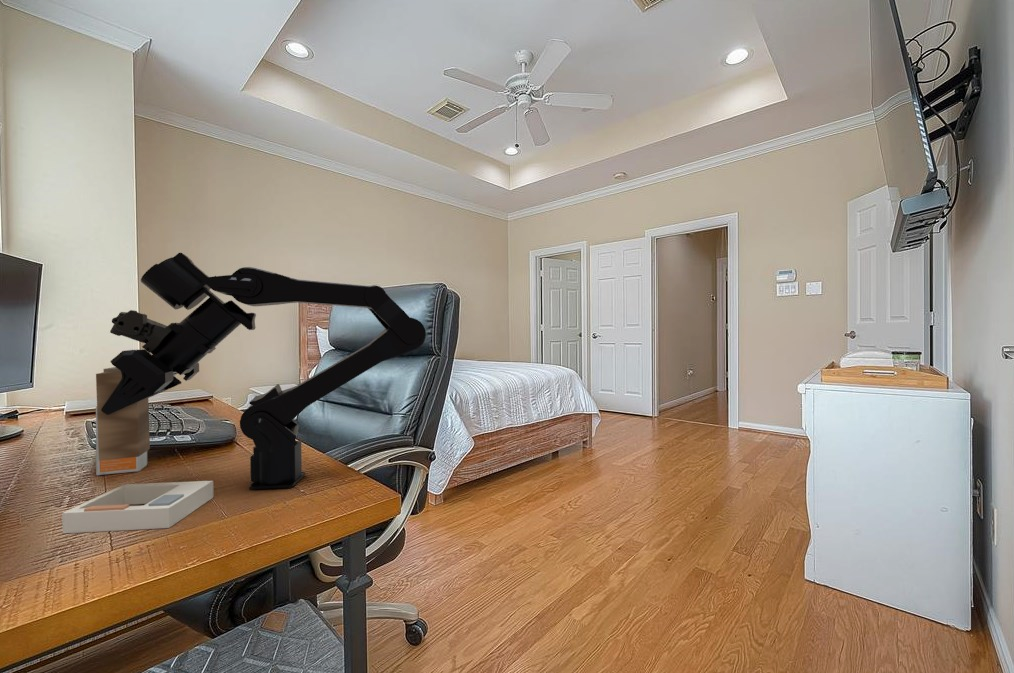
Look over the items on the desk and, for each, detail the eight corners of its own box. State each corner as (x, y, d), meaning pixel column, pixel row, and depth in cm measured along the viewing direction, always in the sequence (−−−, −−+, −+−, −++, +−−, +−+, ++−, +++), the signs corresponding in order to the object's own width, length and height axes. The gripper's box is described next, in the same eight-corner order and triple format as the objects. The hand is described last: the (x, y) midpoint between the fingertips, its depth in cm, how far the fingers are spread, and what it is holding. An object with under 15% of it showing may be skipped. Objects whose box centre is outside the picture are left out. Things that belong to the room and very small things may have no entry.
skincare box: (95, 476, 74) (93, 406, 74) (106, 469, 78) (105, 402, 78) (140, 471, 76) (138, 403, 76) (148, 465, 80) (147, 400, 80)
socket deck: (213, 497, 64) (213, 478, 64) (169, 527, 55) (168, 505, 54) (124, 501, 63) (124, 482, 63) (62, 533, 53) (62, 510, 53)
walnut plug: (149, 448, 66) (147, 365, 66) (138, 456, 62) (136, 367, 62) (112, 452, 64) (110, 367, 64) (98, 460, 60) (95, 369, 60)
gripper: (174, 297, 73) (90, 366, 69) (129, 287, 55) (13, 379, 51) (230, 343, 76) (154, 412, 72) (204, 347, 59) (101, 438, 55)
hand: (111, 409), depth 62 cm, fingers closed on walnut plug, 4 cm apart
